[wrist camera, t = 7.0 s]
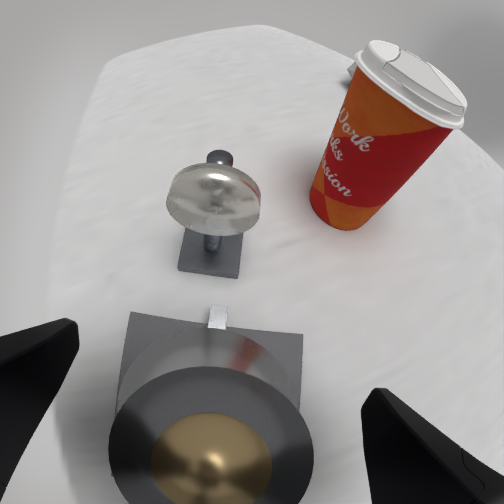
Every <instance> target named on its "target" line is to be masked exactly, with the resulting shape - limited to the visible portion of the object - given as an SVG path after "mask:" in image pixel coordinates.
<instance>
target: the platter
mask: <svg viewBox="0 0 504 504" xmlns="http://www.w3.org/2000/svg"><path fill="white" fill-rule="evenodd" d="M227 311H228V307H225V306H218V305H211V307H210V315H209V323H208V328H206V327H204V328H191V329H185V330H180V331H177V332H174V333H171V334H168V335H166V336H164V337H162V338H160V339H158V340H156V341H155V342H153V343H151V344H150V345H149V346H148V347H146V348H145V349H144V350H143V351H142V352H141V353H140V354H139V355H138V356H137V357H136V358H135V359H134V361H133V362H132V363H131V365H130V366H129V368H128V370H127V372H126V374H125V375H124V377H123V380H122V383H121V386H120V390H119V395H118V404H117V412H119V410H120V409H121V407H122V406H123V404H124V403H125V402H126V401H127V399H128V398H129V397H130V396H131V395H132V394H133V393H134V392H135V391H136V390H138V389H139V388H140V387H141V386H143V385H144V384H146V383H147V382H149V381H150V380H152V379H154V378H156V377H158V376H160V375H163V374H165V373H168V372H171V371H174V370H179V369H183V368H188V367H200V366H210V367H222V368H229V369H233V370H237V371H241V372H244V373H247V374H250V375H252V376H255V377H257V378H259V379H261V380H263V381H265V382H267V383H268V384H270V385H271V386H273V387H274V388H276V389H277V390H279V391H280V392H281V393H282V394H283V395H284V396H285V397H287V398H288V399H289V400H290V402H291V403H292V404H293V405H294V406H295V407H296V408H297V410H298V403H297V397H296V394H295V390H294V387H293V385H292V383H291V380H290V378H289V376H288V375H287V373H286V371H285V370H284V368H283V367H282V366H281V364H280V363H279V362H278V360H277V359H276V358H275V357H274V356H273V355H272V354H271V353H270V352H269V351H267V350H266V349H265V348H263V347H262V346H261V345H259V344H258V343H256V342H254V341H253V340H251V339H249V338H247V337H245V336H243V335H240V334H238V333H235V332H231V331H228V330H226V320H227Z"/></svg>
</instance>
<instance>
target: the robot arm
mask: <svg viewBox="0 0 504 504" xmlns="http://www.w3.org/2000/svg"><path fill="white" fill-rule="evenodd" d="M78 350H79V334H78V325H77V323H76V322H75V321H73V320H70V319H68V318H62V319H59V320H55V321H52V322H49V323H45V324H42V325H39V326H35V327H32V328H28V329H25V330H21V331H18V332H15V333H11V334H8V335H4V336H1V337H0V501H1V499H2V497H3V494H4V492H5V490H6V487H7V485H8V483H9V481H10V478H11V476H12V474H13V472H14V470H15V468H16V466H17V464H18V462H19V460H20V458H21V456H22V454H23V452H24V451H25V449H26V447H27V445H28V443H29V441H30V439H31V437H32V436H33V434H34V432H35V430H36V428H37V427H38V425H39V423H40V421H41V420H42V418H43V416H44V414H45V413H46V411H47V409H48V408H49V406H50V404H51V403H52V401H53V399H54V398H55V396H56V394H57V393H58V391H59V389H60V387H61V385H62V383H63V381H64V379H65V377H66V375H67V373H68V371H69V369H70V367H71V365H72V362H73V360H74V358H75V356H76V354H77V352H78ZM361 420H362V433H363V447H364V455H365V462H366V468H367V474H368V480H369V486H370V493H371V500H372V504H504V476H503V475H501V474H499V473H498V472H496V471H495V470H493V469H491V468H490V467H488V466H487V465H485V464H484V463H482V462H480V461H479V460H478V459H476V458H475V457H473V456H472V455H471V454H469V453H468V452H467V451H465V450H464V449H463V448H461V447H460V446H459V445H458V444H456V443H455V442H454V441H452V440H451V439H450V438H448V437H447V436H446V435H445V434H443V433H442V432H441V431H439V430H438V429H437V428H436V427H434V426H433V425H432V424H431V423H429V422H428V421H427V420H425V419H424V418H423V417H422V416H420V415H419V414H418V413H417V412H415V411H414V410H413V409H412V408H410V407H409V406H408V405H407V404H405V403H404V402H403V401H402V400H400V399H399V398H398V397H397V396H395V395H394V394H393V393H392V392H390V391H389V390H388V389H386V388H374V389H373V390H372V391H371V393H370V395H369V396H368V398H367V399H366V401H365V402H364V404H363V406H362V408H361Z"/></svg>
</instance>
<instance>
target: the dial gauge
mask: <svg viewBox="0 0 504 504" xmlns="http://www.w3.org/2000/svg"><path fill="white" fill-rule="evenodd" d="M232 165H233V157H232V155H231V154H230V153H229V152H227V151H224V150H215V151H212V152H210V153H209V154H208V156H207V162H206V163H201V164H195V165H192V166H189V167H186V168H184V169H183V170H181V171H180V172H178V173H177V174H176V176H175V177H174V178H173V181H172V183H171V187H170V190H169V193H168V196H167V201H166V206H167V209H168V212H169V213H170V215H171V216H172V217H173V218H174V219H175V220H176V221H177V222H178V223H180V224H181V225H183V226H184V227H186V229H185V233H184V238H183V243H182V247H181V252H180V257H179V262H178V270H179V271H186V272H193V273H200V274H207V275H214V276H221V277H228V278H235V279H237V278H238V275H239V266H240V256H241V247H242V238H243V232H245V231H247V230H249V229H251V228H252V227H253V226H254V225H255V224H256V223H257V221H258V219H259V214H260V201H261V193H260V190H259V187H258V186H257V184H256V183H255V182H254V180H253V179H252V178H251V177H249V176H248V175H247V174H245V173H244V172H242V171H240V170H238V169H236V168H233V167H232Z"/></svg>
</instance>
